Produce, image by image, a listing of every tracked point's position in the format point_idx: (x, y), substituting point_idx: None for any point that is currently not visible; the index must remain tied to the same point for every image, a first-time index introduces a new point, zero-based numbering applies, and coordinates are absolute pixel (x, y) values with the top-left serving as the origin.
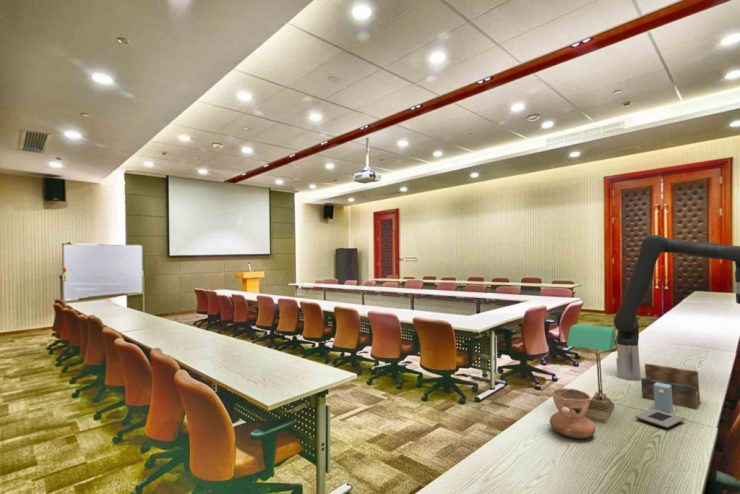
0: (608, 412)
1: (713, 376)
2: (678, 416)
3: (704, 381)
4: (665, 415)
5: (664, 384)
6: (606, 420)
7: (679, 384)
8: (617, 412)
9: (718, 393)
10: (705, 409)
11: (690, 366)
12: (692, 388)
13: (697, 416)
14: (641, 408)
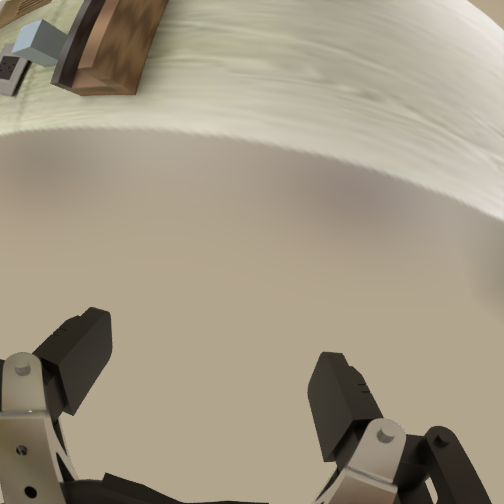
0: (16, 15)
1: (435, 167)
2: (14, 85)
3: (374, 127)
4: (11, 71)
5: (30, 36)
6: (3, 25)
7: (68, 49)
8: (31, 16)
9: (254, 138)
10: (88, 109)
11: (491, 142)
12: (52, 78)
13: (45, 104)
14: (55, 26)
